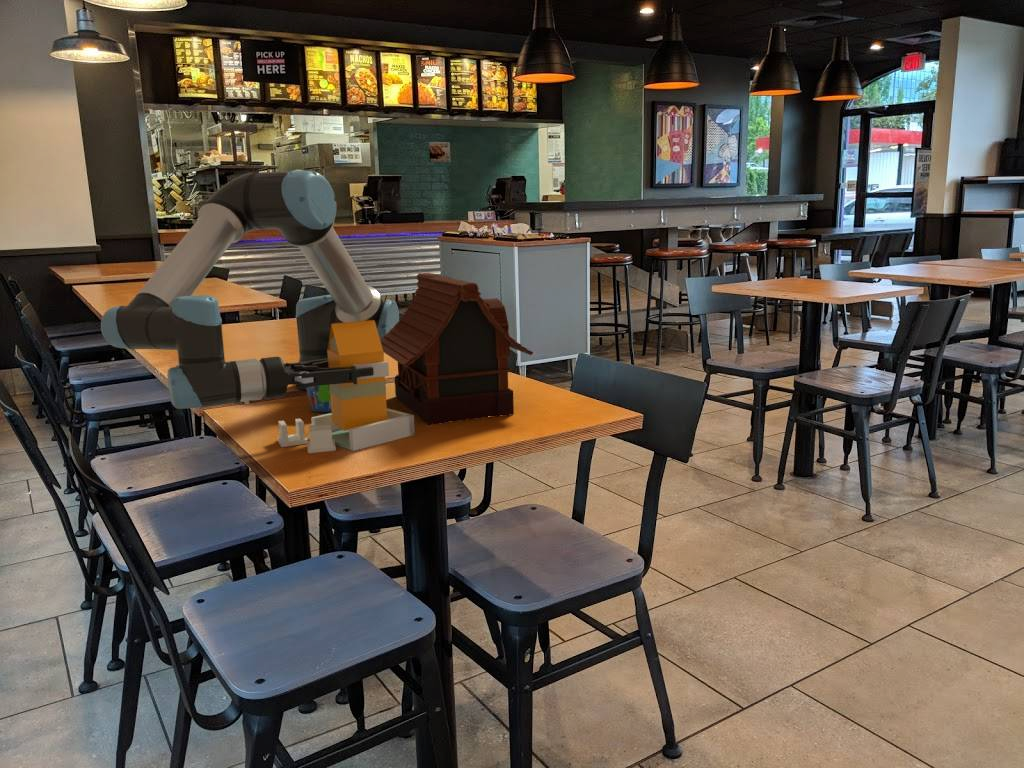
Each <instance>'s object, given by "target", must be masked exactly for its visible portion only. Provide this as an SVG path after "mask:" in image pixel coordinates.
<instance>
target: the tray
mask: <svg viewBox="0 0 1024 768" xmlns="http://www.w3.org/2000/svg"><path fill="white" fill-rule="evenodd" d="M310 417H311V416H310ZM324 424H331V431H332V440H333V439H334V440H335V446H339V447H341V448H344V449H347V450H349V451H353V452H356V451H359V449H360V450H362V449H366V448H370V447H374V446H378V445H382V444H385V443H389V442H392V441H397V440H401V439H404V438H407V437H408V438H409V437H412V436H415V435H416V432H415V428H416V427H415V415H414V414H410V413H408V412H407V413H406V412H404V411H399V410H395V409H391V408H388V407H387V420H384V421H380V422H376V423H372V424H367V425H363V426H359V427H355V428H351V429H349V430H346V431H344V430H342V429H341V428H340V427H338V426H337V425H335V424H334V423H332V412H328V413H326V414H319V415H317V416H312V417H311V426H313V425H324Z"/></svg>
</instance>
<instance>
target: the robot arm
mask: <svg viewBox="0 0 1024 768" xmlns="http://www.w3.org/2000/svg"><path fill="white" fill-rule="evenodd" d="M335 197H336V195H335V192H334V190H333V188H332V186H331V184H330V182H329V181H328V179H326V177H325V176H323V175H322V174H321V173H319V172H317V171H314V170H303V169H294V170H285V171H284V170H283V171H266V172H265V171H263V172H262V171H261V172H247V173H245V174H241V175H239V176H238V177H235V178H233V179H231V180H230V181H229V182H227V183H225V184H224V185H222V186H221V187H220V188H219V189H217V190H216V191H215V192H214V193H213V194H211V196H209V197H208V198H207V200H206V201H205V202H204V203H203V205H202V206H201V207H200V209H199V210H198V212H197V213H198V214H197V218H198V219H197V220H196V222H195V223H194V224H193V225H192V226H191V227H190V229H189V230H188V231H187V232H186V234H185V235H184V236H183V237H182V239H181V240H180V241H179V242H178V244H177V245H176V246H175V247H174V248H173V250H172V251H171V252H170V253H169V254H168V256H167V257H166V258H165V259H164V260H163V261H162V263H161V264H160V266H159V267H158V268H157V269H156V270H155V272H153V274H152V275H151V276H150V278H149V279H148V280H147V281H146V283H145V284H144V285H143V286H142V287H141V289H139V290H138V292H137V294H136V295H135V296H134V297H133V298H132V300H131V301H129V303H128V304H127V305H123V304H121V305H118V306H112V307H111V308H108V309H107V310H106V311H105V312H104V313H103V316H102V318H101V321H100V330H101V335H102V337H103V339H104V340H105V341H106V343H107V344H108V345H110V346H112V347H114V348H118V349H128V350H132V351H133V350H165V351H166V350H167V351H177V357H178V365H175V366H172V367H170V368H168V369H167V375H166V376H167V387H168V392H169V393H168V394H169V399H170V401H171V405H172V406H173V407H174V408H176V409H179V410H185V409H197V408H199V409H204V408H207V407H213V406H221V405H229V404H235V403H236V404H237V403H242V402H244V404H245V405H249V404H250V403H251V401H259V400H262V399H263V398H264V399H267V400H270V399H276V398H277V399H278V398H283V397H285V396H286V395H287V394H288V393H287V392H288V386H290V385H292V386H293V385H294V387H295V388H296V389H299V390H304V391H306V388H307V387H312V386H320V385H331V384H342V383H354V384H357V380H359V379H367V378H375V377H383V376H385V377H389V376H390V371H389V370H390V369H389V361H388V360H387V361H385V360H384V362H376V363H368V364H359V365H354V366H351V367H333V368H328V355H327V349H328V343H329V336H330V330H331V324H334V323H346V322H357V321H369V320H375V324H376V327H377V331H378V334H379V338H380V339H381V338H382V337H384V335H385V334H387V333H388V332H390V330H391V329H392V328H393V327H394V325H395V324H397V323H398V322H399V321H400V320H399V319H400V310H399V306H398V305H397V302H396V301H394V299H389V298H386V299H383V298H382V296H381V294H380V293H379V291H378V290H377V289H376V288H375V287H373V286H370V285H368V284H367V282H366V281H365V279H364V278H363V276H362V274H361V273H360V270H359V269H358V268H357V266H356V264H355V263H354V261H353V258H352V256H351V255H350V254H349V252H348V250H347V249H346V247H345V246H344V244H343V242H342V240H341V239H340V237H339V235H338V233H337V231H336V230H335V228H334V225H335V219H336V217H337V216H336V215H337V201H335ZM257 230H258V231H259V230H262V231H263V230H266V231H267V230H277V231H279V232H280V234H281V236H282V237H283V239H284V240H285V241H286V243H287V244H288V245H290V246H293V247H298V248H299V250H300V251H301V252H302V255H303V256H304V258H305V259H306V261H307V262H308V263H309V265H310V267H311V268H312V270H313V271H314V272H315V274H316V276H317V277H318V279H319V280H320V282H321V283H322V285H323V287H324V288H325V289H326V291H327V292H328V294H326V295H319V296H313V297H307V298H303V299H300V300H298V301H297V302H296V305H295V319H296V329H297V330H296V331H297V341H298V350H299V358H298V362H297V361H296V362H286V363H284V360H283V358H281V357H280V356H271V357H261V358H260V359H259V360H258V359H257V358H247V359H235V360H231V361H226V359H225V347H224V338H223V324H222V323H223V320H222V317H221V312H220V311H221V310H220V307H219V301H218V299H217V298H216V297H215V296H213V295H207V294H206V295H205V294H200V295H199V294H197V295H193V294H194V293H195V291H197V289H198V287H199V286H200V285H201V284H202V283H203V281H204V280H205V279H206V277H207V276H208V275H209V273H210V272H211V270H213V267H215V265H216V264H217V263H218V261H219V260H220V259H221V257H222V256H223V255H224V254H225V252H226V251H227V249H228V248H229V247H230V245H231V244H235V243H238V242H239V241H241V240H242V238H243V236H245V235H246V234H248V233H250V232H253V231H257ZM349 373H350V377H349Z"/></svg>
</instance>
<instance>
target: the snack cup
mask: <svg viewBox="0 0 1024 768" xmlns="http://www.w3.org/2000/svg"><path fill="white" fill-rule="evenodd" d="M305 391H306V394H307V398H308V403H309V407H310V409H311V410H312V411H313V412H316V413H332V411H331V397H330V386H329V385H320V386H312V387H307V388H306V390H305Z"/></svg>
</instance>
